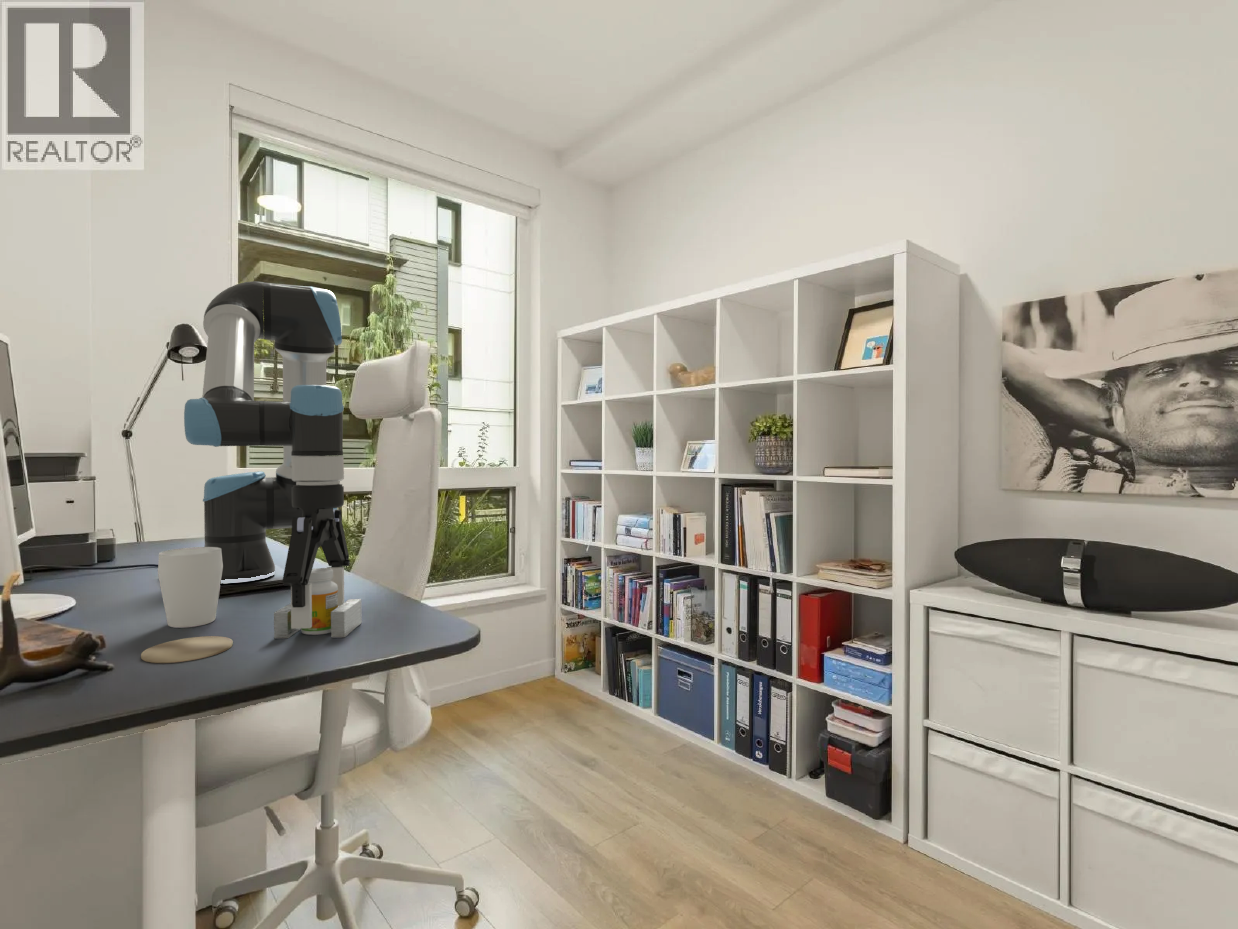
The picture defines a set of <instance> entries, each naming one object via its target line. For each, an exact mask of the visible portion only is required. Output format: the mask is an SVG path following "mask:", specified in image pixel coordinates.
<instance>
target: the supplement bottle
mask: <svg viewBox="0 0 1238 929" xmlns="http://www.w3.org/2000/svg"><path fill="white" fill-rule="evenodd" d="M332 578H333V570H332V569H330V568H327V567H321V568H320V567H319V568H318V567H317V568H312V571H311V575H310V578H309V582H308V584H311V585H312V627H311V628H301V630H300V631H301V633H302V634H303V635H307V636H308V635H310V636H318V635H320V636H321V635H326V634H331V612H332V611H333V610H334V609H336V608H337V607H339V606H338V587H337V584H336V583H334V582H332V581H331V579H332Z"/></svg>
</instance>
